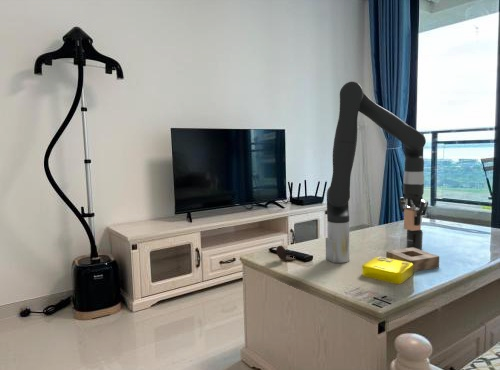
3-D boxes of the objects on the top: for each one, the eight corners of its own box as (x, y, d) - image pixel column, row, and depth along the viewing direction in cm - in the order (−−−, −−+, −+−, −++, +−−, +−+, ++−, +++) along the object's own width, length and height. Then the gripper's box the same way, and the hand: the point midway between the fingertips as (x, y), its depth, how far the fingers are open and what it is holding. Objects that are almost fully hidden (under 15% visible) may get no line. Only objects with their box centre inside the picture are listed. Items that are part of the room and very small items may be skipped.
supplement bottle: (405, 249, 166) (406, 224, 165) (406, 246, 172) (407, 221, 171) (422, 251, 163) (422, 225, 161) (422, 247, 169) (423, 222, 167)
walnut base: (410, 272, 137) (410, 260, 137) (386, 261, 151) (386, 251, 150) (439, 267, 142) (439, 256, 141) (412, 257, 155) (413, 247, 154)
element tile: (360, 276, 136) (360, 264, 135) (377, 265, 147) (377, 254, 146) (400, 285, 126) (400, 272, 125) (414, 273, 137) (415, 261, 136)
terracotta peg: (411, 230, 142) (412, 211, 141) (403, 228, 146) (404, 209, 145) (420, 229, 143) (421, 210, 143) (412, 227, 148) (413, 208, 147)
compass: (298, 259, 157) (298, 243, 156) (284, 263, 152) (284, 247, 151) (286, 255, 163) (286, 240, 162) (273, 259, 159) (272, 243, 158)
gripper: (393, 181, 148) (392, 221, 150) (419, 184, 135) (418, 228, 137) (408, 180, 151) (406, 220, 152) (435, 183, 137) (433, 227, 139)
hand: (412, 223), depth 145 cm, fingers closed on terracotta peg, 4 cm apart
